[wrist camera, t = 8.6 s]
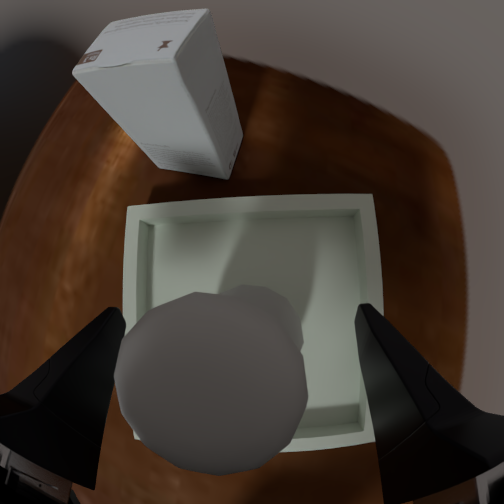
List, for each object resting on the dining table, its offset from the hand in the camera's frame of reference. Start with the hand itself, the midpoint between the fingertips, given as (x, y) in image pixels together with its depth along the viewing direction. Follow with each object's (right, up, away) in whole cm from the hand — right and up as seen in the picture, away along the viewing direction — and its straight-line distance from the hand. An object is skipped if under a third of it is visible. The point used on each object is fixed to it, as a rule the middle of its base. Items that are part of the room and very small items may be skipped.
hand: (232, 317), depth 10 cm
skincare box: (-3, +10, +11) cm, 15 cm away
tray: (+1, -3, +8) cm, 9 cm away
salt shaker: (+1, -3, +8) cm, 8 cm away
